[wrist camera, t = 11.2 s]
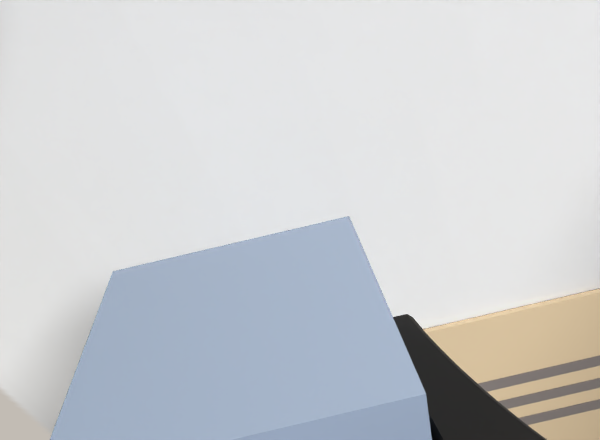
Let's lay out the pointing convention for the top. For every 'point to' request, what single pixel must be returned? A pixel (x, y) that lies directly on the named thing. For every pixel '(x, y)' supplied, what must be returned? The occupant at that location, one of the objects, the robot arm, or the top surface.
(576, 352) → the letter card
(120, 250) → the top surface
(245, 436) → the powder blue cube
